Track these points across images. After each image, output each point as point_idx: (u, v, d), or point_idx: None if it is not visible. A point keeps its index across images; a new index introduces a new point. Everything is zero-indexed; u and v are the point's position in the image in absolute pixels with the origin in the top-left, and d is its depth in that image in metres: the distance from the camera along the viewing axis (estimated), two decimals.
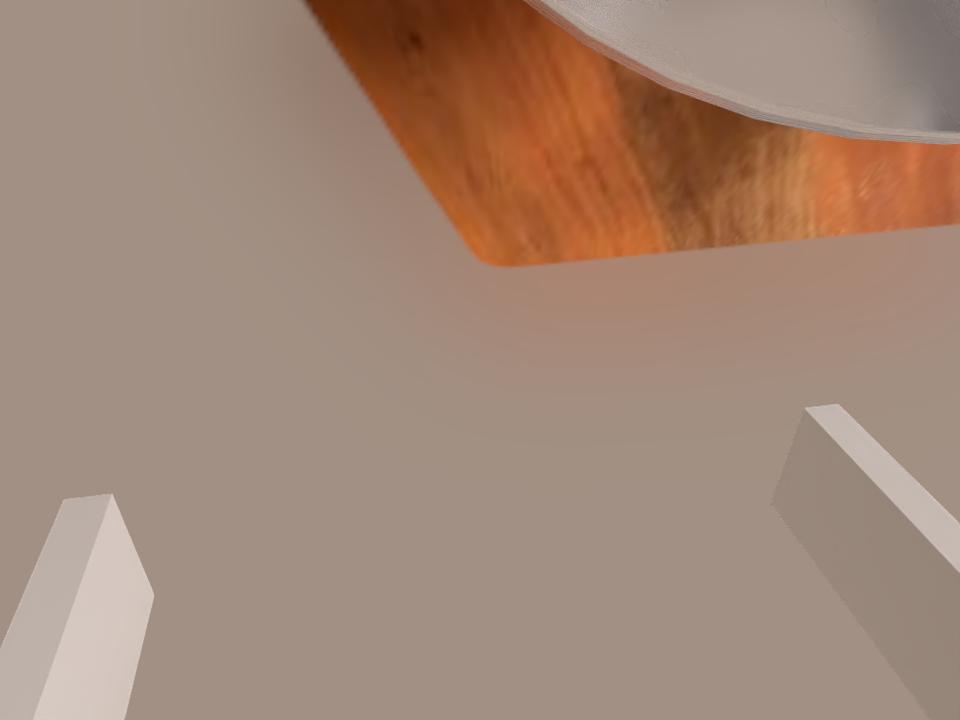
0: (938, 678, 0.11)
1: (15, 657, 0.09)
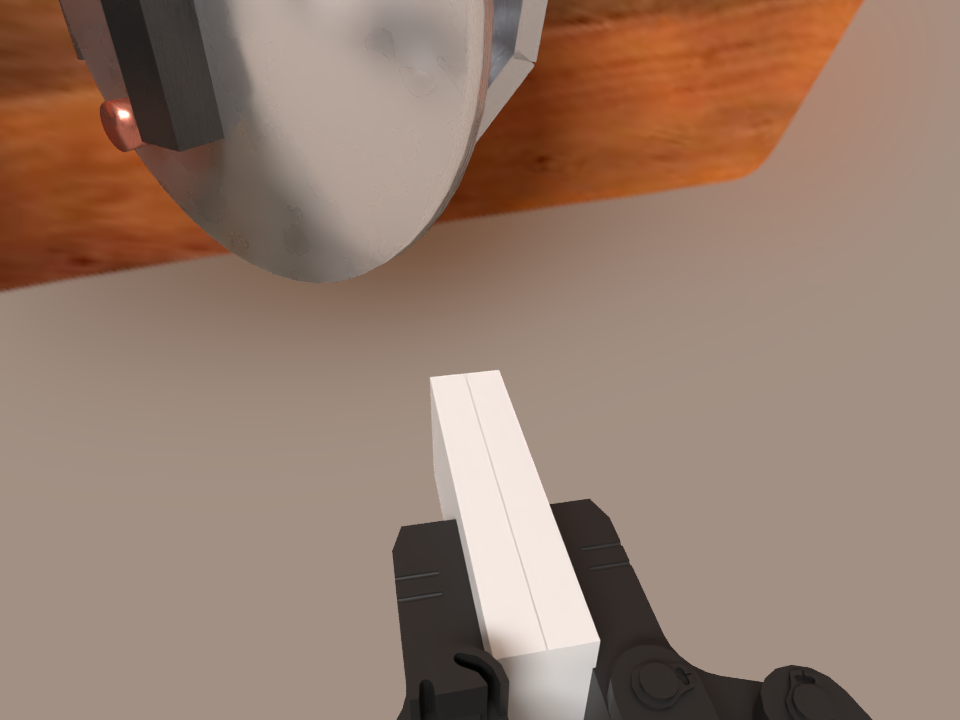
0: None
1: (465, 472, 0.12)
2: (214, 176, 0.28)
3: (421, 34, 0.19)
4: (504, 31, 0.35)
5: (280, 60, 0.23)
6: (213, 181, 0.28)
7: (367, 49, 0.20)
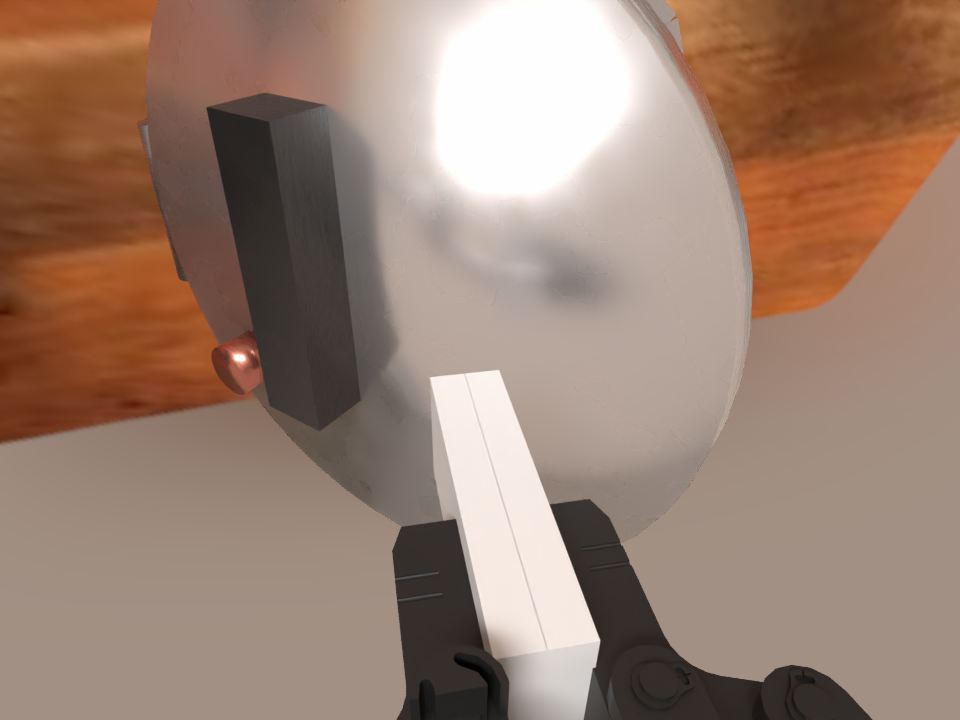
0: None
1: (465, 472, 0.12)
2: (339, 426, 0.25)
3: (654, 401, 0.17)
4: None
5: (452, 363, 0.20)
6: (336, 429, 0.26)
7: (575, 391, 0.18)
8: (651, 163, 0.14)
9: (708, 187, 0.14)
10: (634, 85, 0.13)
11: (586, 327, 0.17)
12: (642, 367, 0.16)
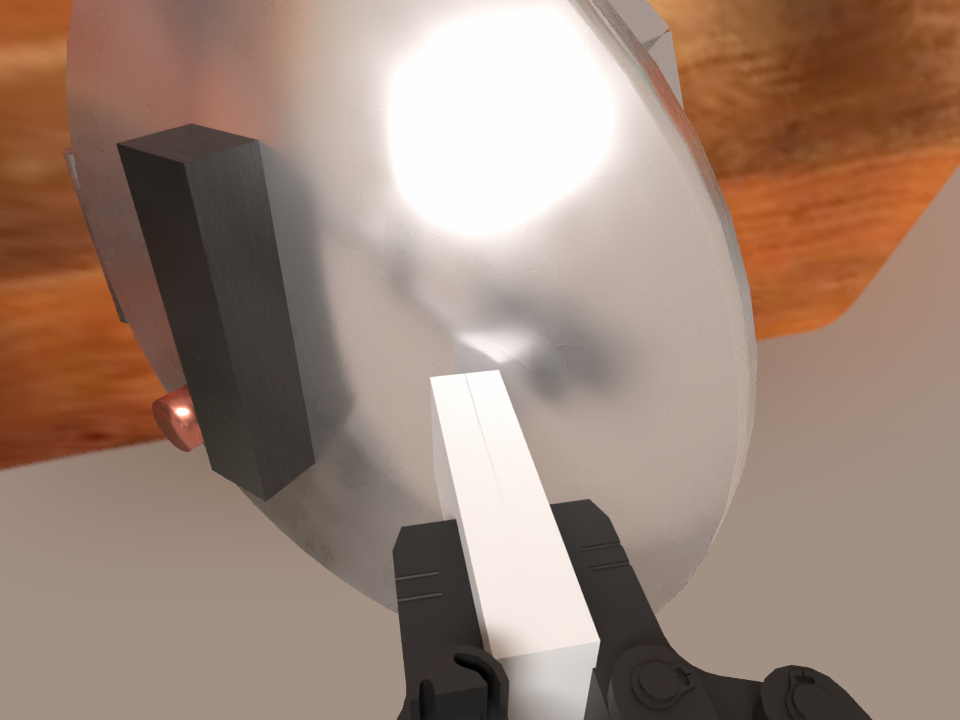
0: None
1: (464, 472, 0.12)
2: (294, 486, 0.23)
3: (640, 494, 0.14)
4: None
5: (412, 432, 0.18)
6: (292, 490, 0.23)
7: (549, 474, 0.15)
8: (633, 224, 0.11)
9: (703, 256, 0.11)
10: (611, 131, 0.11)
11: (560, 405, 0.14)
12: (625, 455, 0.14)
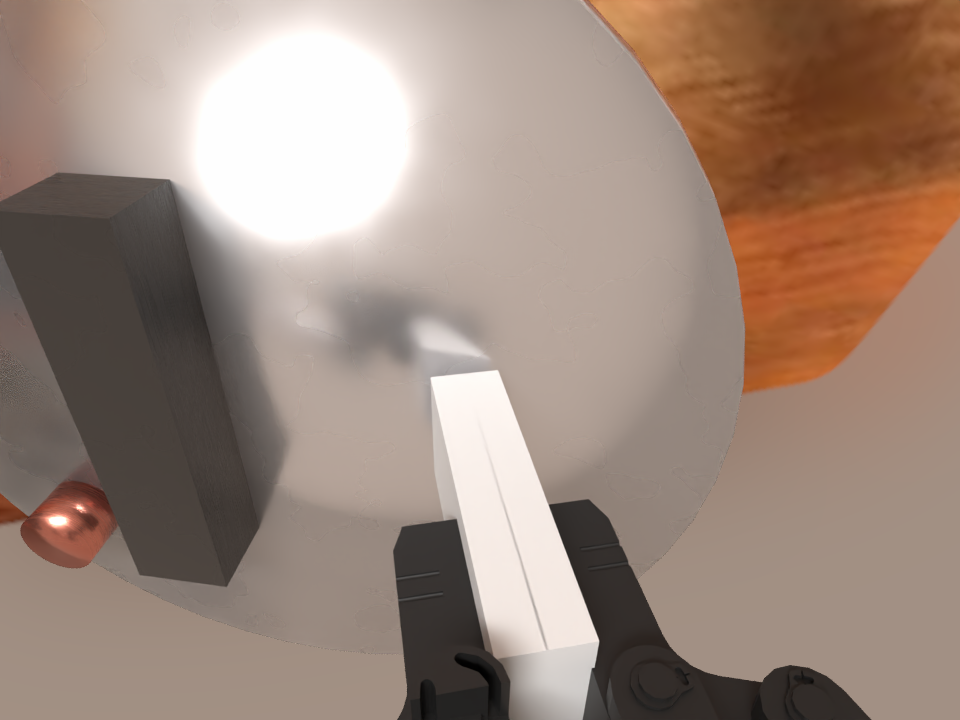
0: None
1: (465, 472, 0.12)
2: None
3: (652, 447, 0.15)
4: None
5: (392, 458, 0.17)
6: None
7: (557, 456, 0.16)
8: (644, 200, 0.12)
9: (712, 218, 0.12)
10: (622, 117, 0.11)
11: (568, 387, 0.15)
12: (637, 415, 0.15)
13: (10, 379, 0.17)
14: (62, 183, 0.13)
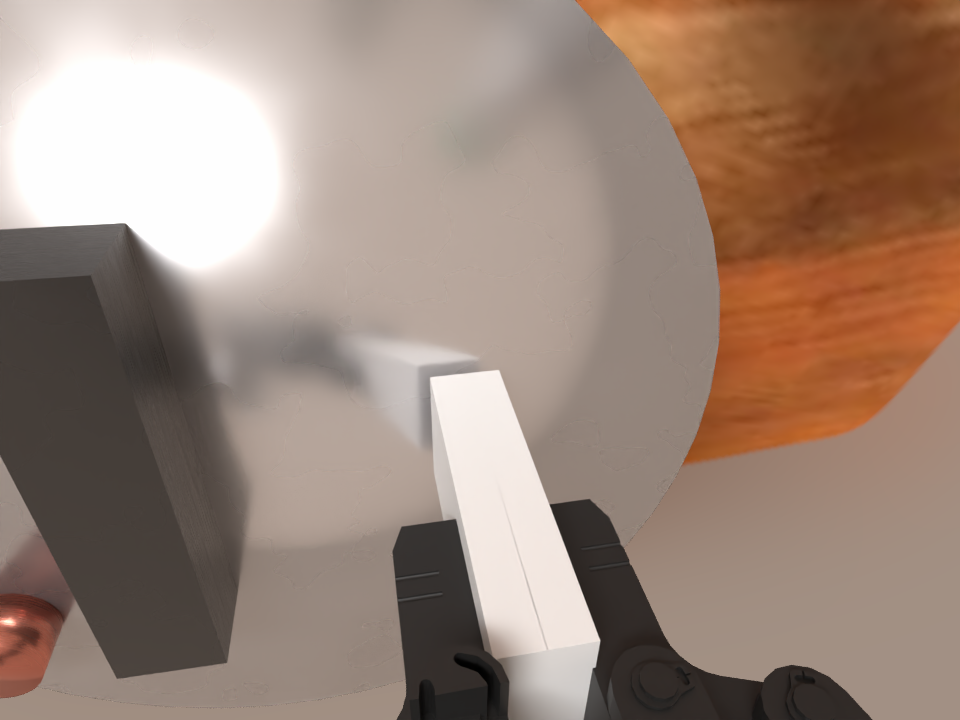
0: None
1: (465, 472, 0.12)
2: None
3: (641, 417, 0.16)
4: None
5: (388, 483, 0.16)
6: None
7: (554, 443, 0.16)
8: (634, 186, 0.13)
9: (692, 195, 0.13)
10: (614, 109, 0.12)
11: (565, 375, 0.15)
12: (628, 389, 0.16)
13: None
14: None
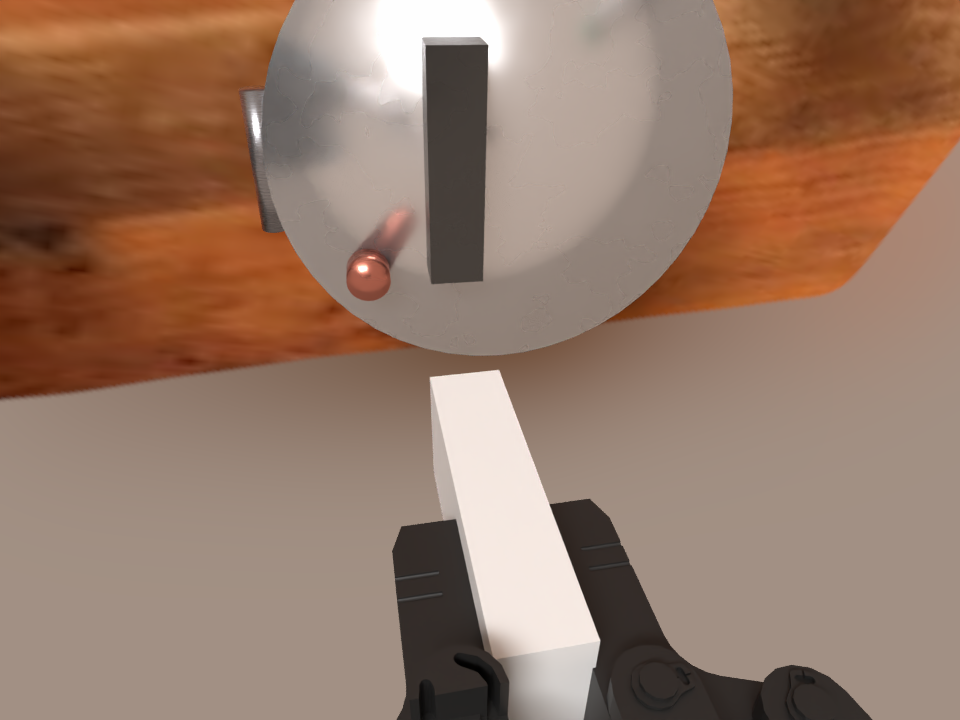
0: None
1: (464, 472, 0.12)
2: (450, 295, 0.34)
3: (691, 165, 0.32)
4: None
5: (562, 196, 0.32)
6: (447, 300, 0.34)
7: (646, 178, 0.32)
8: (695, 31, 0.29)
9: (721, 37, 0.29)
10: None
11: (655, 135, 0.31)
12: (685, 147, 0.31)
13: (346, 176, 0.30)
14: (434, 38, 0.27)
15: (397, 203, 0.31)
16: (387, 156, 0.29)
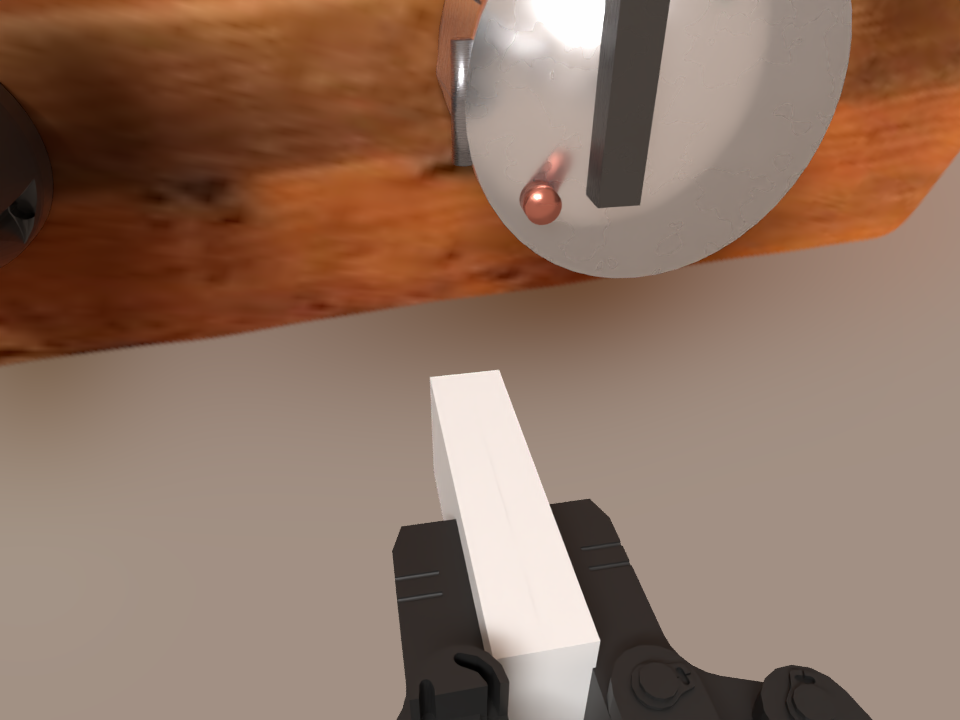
0: None
1: (465, 472, 0.12)
2: (601, 222, 0.39)
3: (811, 103, 0.37)
4: None
5: (704, 131, 0.37)
6: (598, 227, 0.39)
7: (774, 115, 0.37)
8: None
9: None
10: None
11: (785, 76, 0.36)
12: (808, 87, 0.37)
13: (530, 115, 0.35)
14: None
15: (568, 139, 0.36)
16: (566, 96, 0.35)
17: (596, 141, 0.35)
